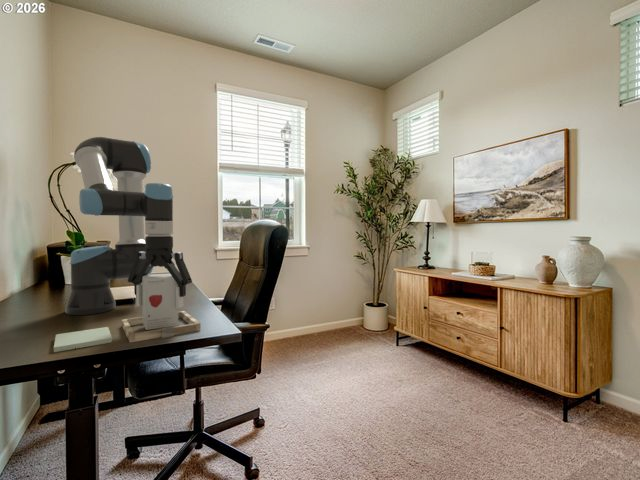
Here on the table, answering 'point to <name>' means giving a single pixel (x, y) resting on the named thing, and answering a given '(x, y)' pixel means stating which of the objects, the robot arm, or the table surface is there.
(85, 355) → the table surface
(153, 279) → the supplement box
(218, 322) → the table surface
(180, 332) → the birch collar
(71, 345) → the coaster pad
